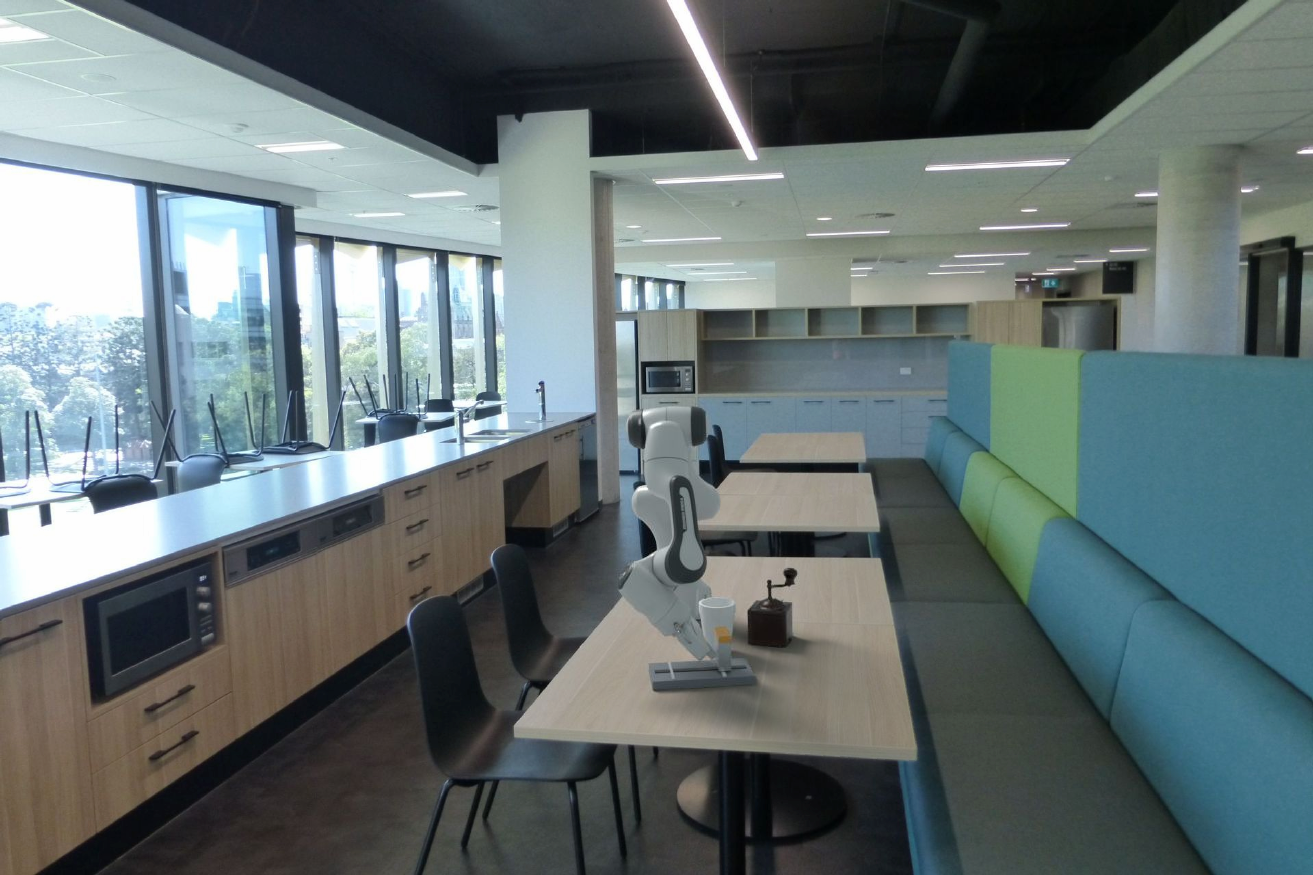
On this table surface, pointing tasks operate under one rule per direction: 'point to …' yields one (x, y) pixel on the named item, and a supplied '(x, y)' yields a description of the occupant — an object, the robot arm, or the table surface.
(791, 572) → the manual coffee grinder
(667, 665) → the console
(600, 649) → the table surface
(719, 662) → the plate
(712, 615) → the foam cup
